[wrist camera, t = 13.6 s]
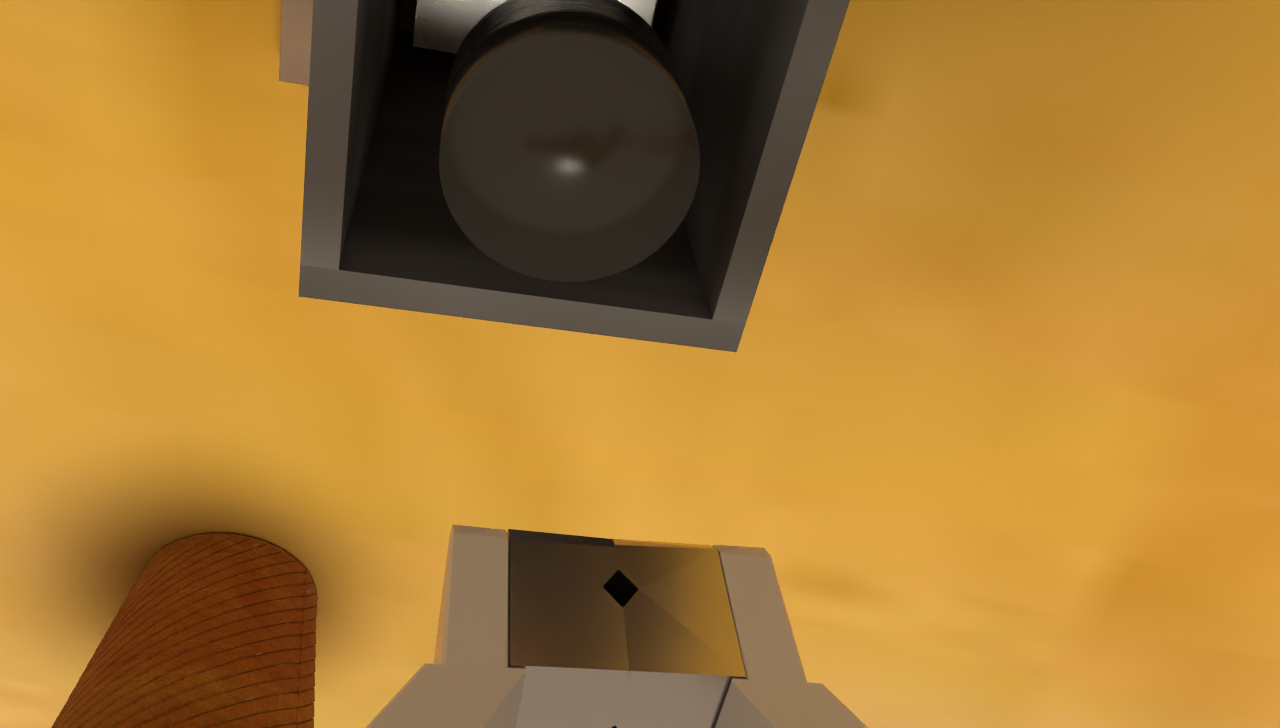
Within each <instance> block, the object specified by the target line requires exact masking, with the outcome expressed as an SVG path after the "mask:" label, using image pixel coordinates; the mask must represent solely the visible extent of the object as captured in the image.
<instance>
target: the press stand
mask: <svg viewBox="0 0 1280 728" xmlns="http://www.w3.org/2000/svg"><path fill="white" fill-rule="evenodd" d="M849 1H850V0H656V5H655V9H654V14H653V18H652V23H651V27H652V28H653V30H654V31H655V32H656V34H657V35H658V37H659V38H660V39H661V41H662V43H663V45H664V46H665V48H666V50H667V52H668V54H669V57H670V59H671V62H672V64H673V67H674V70H675V73H676V75H677V78H678V81H679V84H680V87H681V89H682V92H683V95H684V98H685V101H686V103H687V106H688V109H689V112H690V114H691V117H692V120H693V123H694V126H695V129H696V133H697V137H698V142H699V151H700V171H699V178H698V184H697V189H696V192H695V195H694V198H693V201H692V204H691V206H690V208H689V210H688V212H687V214H686V216H685V218H684V219H683V221H682V222H681V224H680V225H679V227H678V228H677V230H676V231H675V232H674V233H673V235H672V236H671V237H670V238H669V239H668V240H667V241H666V242H665V243H664V244H663V245H662V246H661V247H660V248H659V249H658V250H657V251H655V252H654V253H653V254H652V255H650V256H649V257H647V258H646V259H644V260H643V261H641V262H640V263H638V264H636V265H634V266H632V267H630V268H628V269H626V270H624V271H621V272H619V273H616V274H614V275H611V276H607V277H603V278H599V279H595V280H588V281H581V282H558V281H548V280H543V279H538V278H533V277H530V276H527V275H523V274H520V273H518V272H515V271H513V270H511V269H509V268H506V267H504V266H503V265H501V264H499V263H498V262H496V261H494V260H493V259H491V258H490V257H488V256H487V255H486V254H485V253H483V252H482V251H481V250H479V249H478V248H477V247H476V246H475V245H474V244H473V243H472V242H471V241H470V240H469V239H468V238H467V236H466V235H465V234H464V232H463V231H462V230H461V228H460V227H459V226H458V224H457V223H456V221H455V219H454V217H453V216H452V214H451V212H450V210H449V207H448V205H447V202H446V200H445V197H444V194H443V190H442V185H441V181H440V171H439V153H440V143H441V134H442V126H443V118H444V110H445V102H446V94H447V85H448V80H449V75H450V70H451V67H452V64H453V61H454V58H455V55H456V54H454V53H449V52H443V51H437V50H432V49H426V48H420V47H415V46H413V37H414V27H415V17H416V8H417V0H282V8H281V39H280V69H279V81H284V82H290V83H296V84H302V85H308V86H309V98H308V118H307V139H306V159H305V180H304V200H303V221H302V241H301V261H300V282H299V297H307V298H315V299H323V300H331V301H339V302H347V303H354V304H362V305H370V306H378V307H386V308H394V309H402V310H409V311H417V312H425V313H433V314H441V315H449V316H457V317H464V318H472V319H480V320H488V321H496V322H504V323H512V324H519V325H527V326H535V327H543V328H551V329H559V330H567V331H574V332H582V333H590V334H598V335H606V336H614V337H622V338H629V339H637V340H645V341H653V342H661V343H669V344H677V345H684V346H692V347H700V348H708V349H716V350H724V351H732V352H737V348H738V345H739V342H740V339H741V336H742V333H743V330H744V327H745V324H746V320H747V317H748V314H749V311H750V308H751V305H752V302H753V299H754V296H755V293H756V289H757V286H758V283H759V280H760V277H761V274H762V271H763V268H764V265H765V262H766V258H767V255H768V252H769V249H770V246H771V243H772V240H773V237H774V234H775V231H776V227H777V224H778V221H779V218H780V215H781V212H782V209H783V206H784V203H785V200H786V196H787V193H788V190H789V187H790V184H791V181H792V178H793V175H794V172H795V169H796V165H797V162H798V159H799V156H800V153H801V150H802V147H803V144H804V141H805V138H806V134H807V131H808V128H809V125H810V122H811V119H812V116H813V113H814V110H815V107H816V103H817V100H818V97H819V94H820V91H821V88H822V85H823V82H824V79H825V76H826V72H827V69H828V66H829V63H830V60H831V57H832V54H833V51H834V48H835V45H836V41H837V38H838V35H839V32H840V29H841V26H842V23H843V20H844V17H845V14H846V10H847V7H848V4H849Z"/></svg>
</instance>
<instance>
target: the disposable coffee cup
mask: <svg viewBox="0 0 1280 728" xmlns="http://www.w3.org/2000/svg"><path fill="white" fill-rule="evenodd" d="M316 612H317V591H316V588H315V585H314V582H313V580H312V578H311V576H310V574H309V573H308V571H307V569H306V568H305V567H303V566H302V565H301V564H300V563H299V562H298V561H297V560H296V559H295V558H294V557H293V556H291V555H290V554H288V553H287V552H285V551H284V550H282V549H281V548H278V547H276V546H274V545H272V544H270V543H267V542H265V541H262V540H258V539H254V538H251V537H247V536H243V535H235V534H220V533H210V534H202V535H195V536H190V537H187V538H184V539H180V540H177V541H175V542H173V543H171V544H169V545H167V546H165V547H163V548H162V549H160V550H159V551H158V552H157V553H156V554H154V555H153V556H152V557H151V558H150V559H149V560H148V562H147V563H146V564H145V565H144V567H143V569H142V571H141V573H140V575H139V577H138V579H137V580H136V582H135V584H134V586H133V587H132V589H131V591H130V592H129V594H128V596H127V598H126V600H125V601H124V603H123V605H122V606H121V608H120V610H119V612H118V614H117V615H116V617H115V618H114V620H113V622H112V624H111V626H110V627H109V629H108V631H107V632H106V634H105V636H104V638H103V639H102V641H101V643H100V644H99V646H98V648H97V649H96V651H95V653H94V655H93V657H92V658H91V660H90V662H89V663H88V665H87V667H86V669H85V671H84V672H83V674H82V676H81V677H80V679H79V681H78V683H77V685H76V686H75V688H74V690H73V691H72V693H71V695H70V696H69V699H68V701H67V702H66V704H65V706H64V707H63V709H62V711H61V712H60V714H59V716H58V717H57V719H56V721H55V722H54V724H53V726H52V728H314V719H313V717H314V703H313V702H314V701H315V695H314V688H313V687H315V673H314V672H315V659H314V658H316V650H315V644H316V632H315V631H316Z"/></svg>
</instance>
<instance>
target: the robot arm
mask: <svg viewBox="0 0 1280 728" xmlns="http://www.w3.org/2000/svg"><path fill="white" fill-rule="evenodd" d="M366 728H868V727H867V726H866V725H865V724H864V723H863V722H862V721H861V720H860V719H859V718H858V717H857V716H855V715H854V714H853V713H852V712H851V711H850V710H849V709H848V708H847V707H846V706H845V705H844V704H843V703H842V702H841V701H840V700H839V699H838V698H837V697H836V696H835V695H834V694H833V693H832V692H831V691H829V690H828V689H827V688H826V687H825V686H824V685H823V684H819V683H807V680H806V677H805V673H804V670H803V666H802V663H801V659H800V656H799V652H798V649H797V645H796V642H795V638H794V635H793V631H792V628H791V624H790V621H789V617H788V614H787V611H786V607H785V604H784V600H783V597H782V593H781V590H780V586H779V583H778V579H777V576H776V572H775V569H774V565H773V562H772V558H771V555H770V554H769V553H768V552H767V551H766V550H765V549H764V548H758V547H740V546H723V545H713V546H712V547H711V546H709V545H698V544H683V543H667V542H652V541H637V540H622V539H605V538H594V537H584V536H574V535H564V534H553V533H543V532H533V531H523V530H513V529H508V531H507V533H506V530H500V529H490V528H480V527H470V526H461V525H452V528H451V532H450V537H449V545H448V553H447V560H446V568H445V576H444V583H443V591H442V599H441V606H440V614H439V623H438V631H437V640H436V648H435V657H434V664H424V665H423V666H422V667H421V668H420V669H419V670H418V671H417V672H416V673H415V674H414V676H413V677H412V678H411V679H410V680H409V681H408V682H407V683H406V684H405V685H404V686H403V688H402V689H401V690H400V691H399V692H398V693H397V694H396V695H395V696H394V697H393V698H392V700H391V701H390V702H389V703H388V704H387V705H386V706H385V707H384V708H383V709H382V710H381V712H380V713H379V714H378V715H377V716H376V717H375V718H374V719H373V720H372V721H371V722H370V723H369V725H368V726H367V727H366Z"/></svg>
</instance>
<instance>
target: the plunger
mask: <svg viewBox="0 0 1280 728" xmlns="http://www.w3.org/2000/svg"><path fill="white" fill-rule="evenodd" d="M655 5H656V0H417V8H416V17H415V27H414V37H413V46H415V47H420V48H426V49H432V50H437V51H443V52H449V53H454V54H456V55H455V58H454V61H453V64H452V67H451V70H450V75H449V80H448V85H447V94H446V102H445V110H444V118H443V126H442V134H441V143H440V153H439V171H440V181H441V185H442V190H443V194H444V197H445V200H446V202H447V205H448V207H449V210H450V212H451V214H452V216H453V217H454V219H455V221H456V223H457V224H458V226H459V227H460V228H461V230H462V231H463V232H464V234H465V235H466V236H467V238H468V239H469V240H470V241H471V242H472V243H473V244H474V245H475V246H476V247H477V248H478V249H479V250H481V251H482V252H483V253H485V254H486V255H487V256H488V257H490V258H491V259H493V260H494V261H496V262H498V263H499V264H501V265H503V266H504V267H506V268H509V269H511V270H513V271H515V272H518V273H520V274H523V275H527V276H530V277H533V278H538V279H543V280H548V281H558V282H581V281H588V280H595V279H599V278H603V277H607V276H611V275H614V274H616V273H619V272H621V271H624V270H626V269H628V268H630V267H632V266H634V265H636V264H638V263H640V262H641V261H643V260H644V259H646V258H647V257H649V256H650V255H652V254H653V253H654V252H655V251H657V250H658V249H659V248H660V247H661V246H662V245H663V244H664V243H665V242H666V241H667V240H668V239H669V238H670V237H671V236H672V235H673V233H674V232H675V231H676V230H677V228H678V227H679V225H680V224H681V222H682V221H683V219H684V218H685V216H686V214H687V212H688V210H689V208H690V206H691V204H692V201H693V198H694V195H695V192H696V189H697V184H698V178H699V171H700V151H699V142H698V137H697V133H696V129H695V126H694V123H693V120H692V117H691V114H690V112H689V109H688V106H687V103H686V101H685V98H684V95H683V92H682V89H681V87H680V84H679V81H678V78H677V75H676V73H675V70H674V67H673V64H672V62H671V59H670V57H669V54H668V52H667V50H666V48H665V46H664V45H663V43H662V41H661V39H660V38H659V37H658V35H657V34H656V32H655V31H654V30H653V28H652V27H651V23H652V18H653V14H654V9H655Z"/></svg>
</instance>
